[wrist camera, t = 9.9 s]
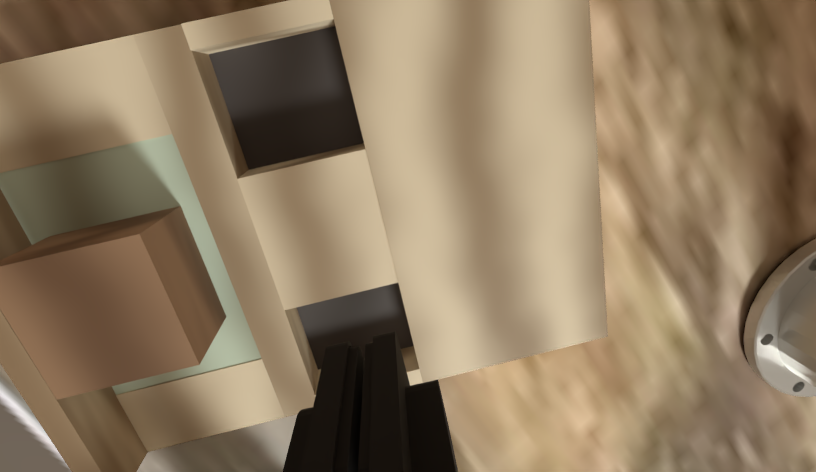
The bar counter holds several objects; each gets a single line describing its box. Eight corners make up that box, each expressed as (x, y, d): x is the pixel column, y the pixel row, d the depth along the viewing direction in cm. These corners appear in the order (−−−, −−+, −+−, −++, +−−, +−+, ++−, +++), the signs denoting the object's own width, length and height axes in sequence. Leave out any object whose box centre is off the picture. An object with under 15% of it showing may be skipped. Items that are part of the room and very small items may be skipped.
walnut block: (180, 206, 20) (139, 234, 16) (226, 316, 22) (199, 364, 18) (49, 236, 19) (-24, 271, 16) (108, 345, 22) (56, 399, 18)
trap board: (558, -47, 20) (626, -92, 15) (585, 314, 27) (638, 367, 22) (-40, 84, 19) (-184, 83, 14) (146, 424, 26) (95, 507, 21)
